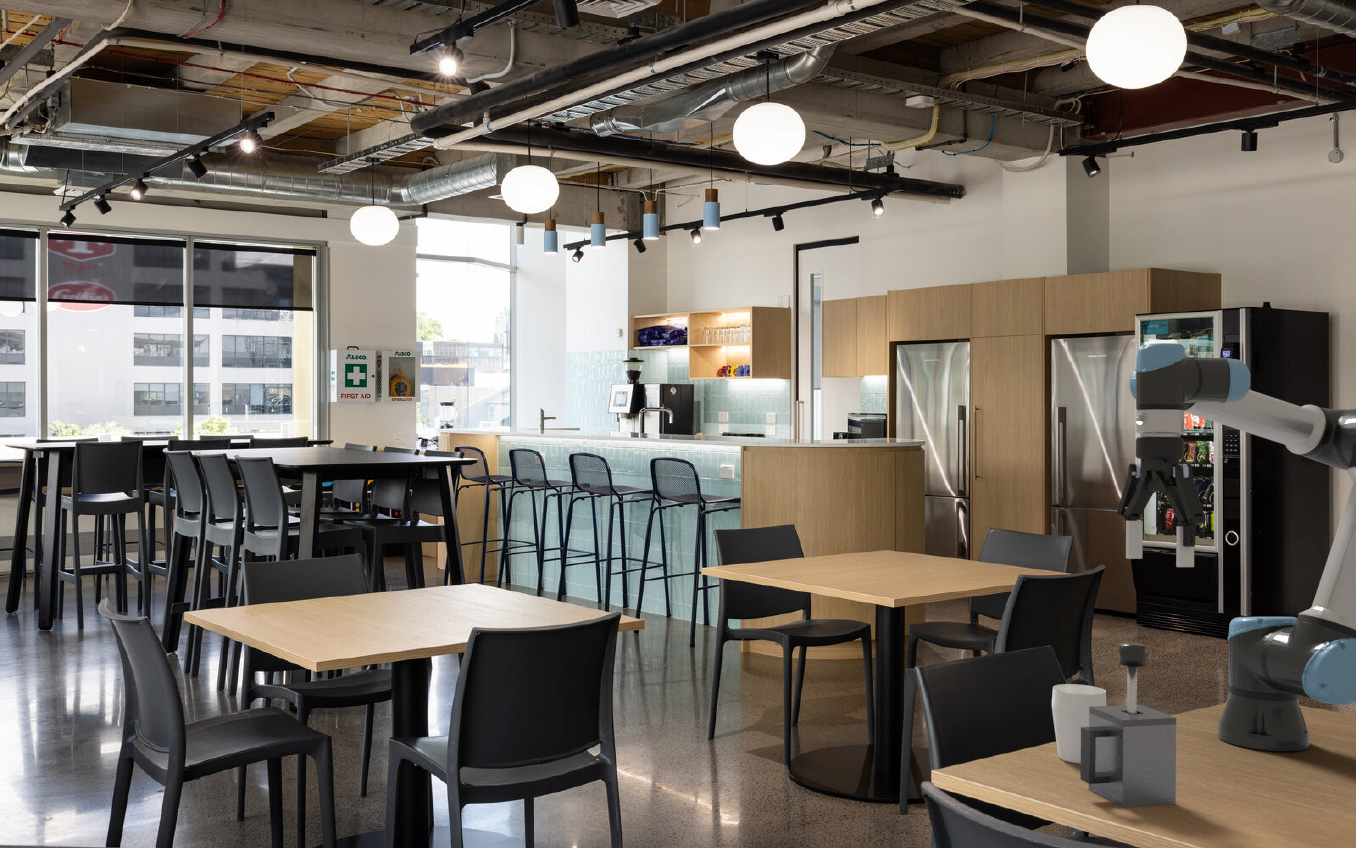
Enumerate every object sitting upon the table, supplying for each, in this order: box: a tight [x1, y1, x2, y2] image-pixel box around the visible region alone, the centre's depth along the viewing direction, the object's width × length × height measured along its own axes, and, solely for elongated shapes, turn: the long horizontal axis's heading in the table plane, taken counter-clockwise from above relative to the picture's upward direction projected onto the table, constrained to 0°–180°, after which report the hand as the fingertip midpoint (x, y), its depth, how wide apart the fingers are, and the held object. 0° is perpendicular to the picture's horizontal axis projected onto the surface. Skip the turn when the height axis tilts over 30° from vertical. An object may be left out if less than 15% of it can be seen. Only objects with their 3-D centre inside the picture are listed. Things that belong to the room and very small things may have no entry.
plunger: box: [1118, 642, 1147, 714], centre depth 178 cm, size 6×6×20 cm
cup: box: [1051, 683, 1108, 765], centre depth 199 cm, size 9×9×12 cm
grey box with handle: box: [1080, 704, 1177, 808], centre depth 177 cm, size 12×9×13 cm
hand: (1158, 562), depth 193 cm, fingers open, 13 cm apart
